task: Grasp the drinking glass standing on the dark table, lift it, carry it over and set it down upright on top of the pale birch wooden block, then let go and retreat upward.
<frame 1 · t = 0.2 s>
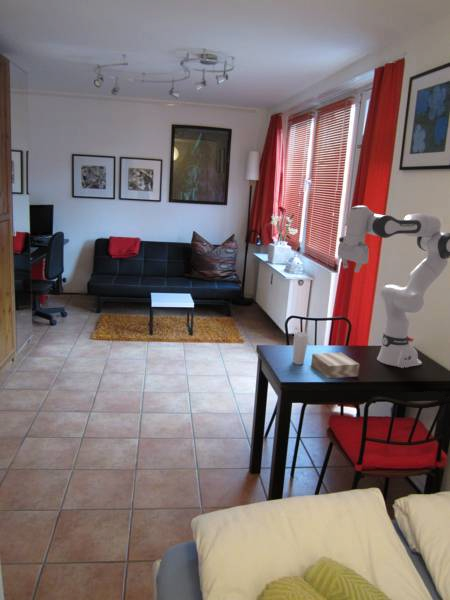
hand: (350, 270, 240), 48 cm above the table, fingers open, 8 cm apart
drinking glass: (298, 363, 249), on the table
birch block: (334, 370, 242), on the table
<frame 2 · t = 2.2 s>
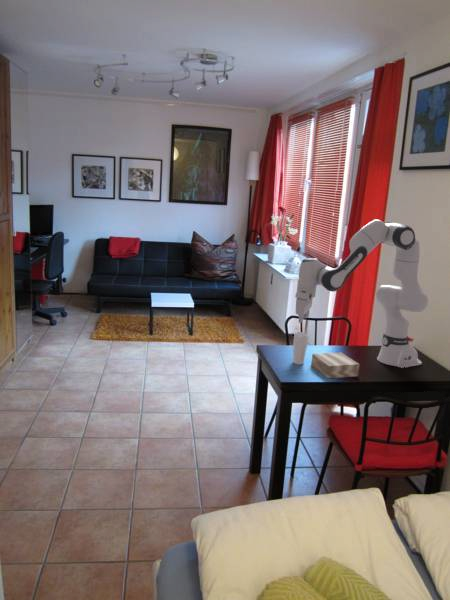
hand: (302, 320, 244), 22 cm above the table, fingers open, 8 cm apart
nothing on the table moved.
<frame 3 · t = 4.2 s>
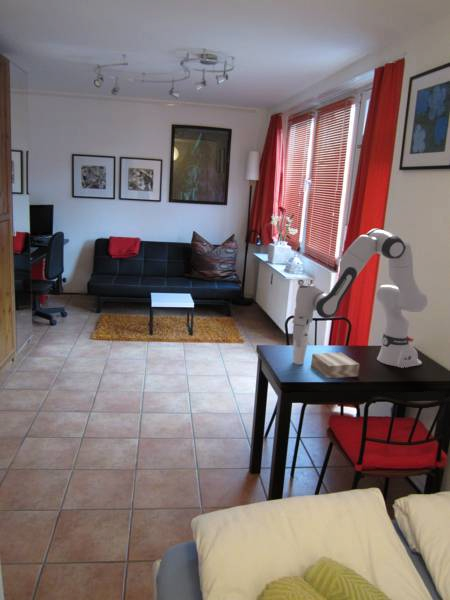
hand: (300, 344, 247), 10 cm above the table, fingers closed on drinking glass, 7 cm apart
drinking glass: (298, 363, 249), on the table, touching gripper
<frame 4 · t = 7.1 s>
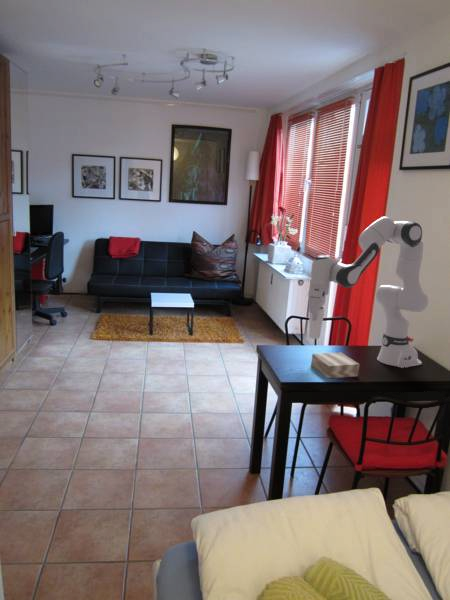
hand: (316, 317, 241), 24 cm above the table, fingers closed on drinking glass, 7 cm apart
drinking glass: (314, 337, 244), point 14 cm above the table, touching gripper
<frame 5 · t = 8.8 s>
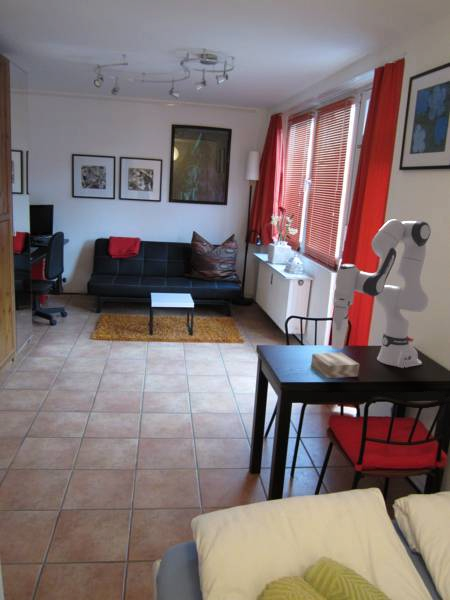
hand: (339, 327, 237), 21 cm above the table, fingers closed on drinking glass, 7 cm apart
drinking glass: (337, 348, 240), point 11 cm above the table, touching gripper
when the fingers open (17 cm above the table, at t = 10.4 s): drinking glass stays where it is, resting on birch block.
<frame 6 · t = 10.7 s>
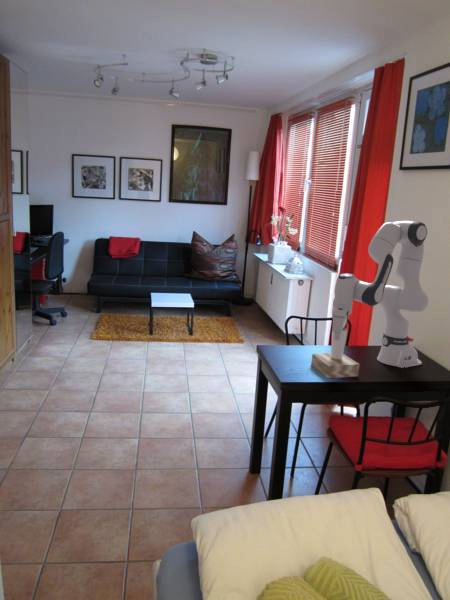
hand: (338, 337, 238), 17 cm above the table, fingers open, 8 cm apart
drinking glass: (336, 358, 242), point 6 cm above the table, touching birch block, gripper
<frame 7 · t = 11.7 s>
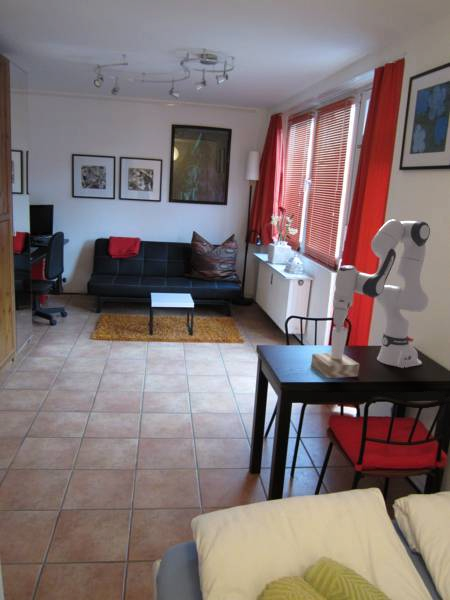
hand: (339, 329, 237), 21 cm above the table, fingers open, 8 cm apart
nothing on the table moved.
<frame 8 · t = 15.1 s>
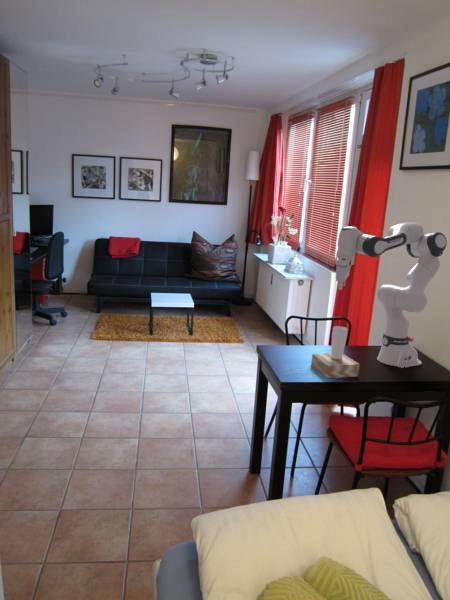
hand: (341, 287, 250), 37 cm above the table, fingers open, 8 cm apart
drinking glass: (336, 358, 242), point 6 cm above the table, touching birch block
at the end: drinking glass inside the target area on the birch block (1.1 cm from its centre), point 5.8 cm above the birch block's base; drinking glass tilted 0°; the gripper is holding nothing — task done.
